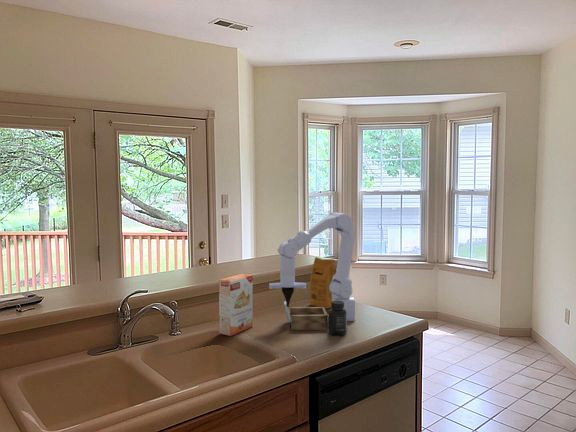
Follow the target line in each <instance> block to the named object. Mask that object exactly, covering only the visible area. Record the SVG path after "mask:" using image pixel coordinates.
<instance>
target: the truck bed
mask: <svg viewBox="0 0 576 432" xmlns="http://www.w3.org/2000/svg"><path fill="white" fill-rule="evenodd" d="M289 315H290V323H289V324H290V329H291V330H293V331H298V330H299V331H302V330H304V331H306V330H307V331H308V330H311V331H312V330H313V331H314V330H315V331H317V330H328V313H327V310H326V308H324V307H316V306H306V307H304V306H303V307H302V306H301V307H300V306H298V307H296V306H295V307H290V306H289Z"/></svg>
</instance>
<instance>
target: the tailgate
mask: <svg viewBox="0 0 576 432" xmlns="http://www.w3.org/2000/svg"><path fill="white" fill-rule="evenodd" d="M283 305H284V311H285V315H286V320H287V321H286V322H287V323H288V324H291V323H290V310H289V307H287V303H286V300H285V301H283Z"/></svg>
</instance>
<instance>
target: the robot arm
mask: <svg viewBox="0 0 576 432" xmlns="http://www.w3.org/2000/svg"><path fill="white" fill-rule="evenodd" d="M328 229H334V230H336V231H337V232H338V233H339V235H340V236H341V237H340V243H339V245H340V246H339V250H338V251H339V252H338V257H337V264H336V274H335V275H334V276H333V278H332V281H331V283H330V285H329V290H330V292H331V293H332V301H343V302H344V309H345V310H346V311H347V322H353V321H354V322H355V321H356V301H355V297H353V296H352V294H353V287H352V283H353V282H352V279H351V277H350V273H351V272H350V271H351V265H352V260H353V259H352V258H353V251H354V244H355V237H356V230H355V227H354V219H353V218H352V217H351V216H350V215H349V214H348V213H342V212H338V211H337V212H336V211H332V212H330V213H329V214H328V215H325V217H323V218H322V219H321V220H320V221H319V222H317V223H316V224H314V225H313V226H311V228H309V229H308V230H307V231H306V230H298V231H297V232H296V234H295V235H294V236H293V237H290V238H289V237H288V238H287V241H283V242H281V243H280V244H279V246H278V248H277V252H278V254H279V256H280V258H279V259H280V263H279V266H280V267H279V269H280V271H279V273H280V275H279V277H280V278H279V280H280V282H270V283H268V284H269V285H268V286H269V287H268V289H269V290H274V289H276V290H278V289H281V292H282V294H283V296H284V298H285V299H284V300H285V301H286V303H287V307H288V308H290V301H291V298H292V296H293V293H294V291H295V289H304V290H305V289H307V283H306V282H296V269H295V268H296V260H295V259H296V256H297V254H298V252H299V251H300V250H302V249H304V248H305V247H307V246H308V245H310V243H311V242H312V238H314V237H316V236H317V235H320V233H323V232H325V231H326V230H328Z"/></svg>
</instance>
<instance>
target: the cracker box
mask: <svg viewBox="0 0 576 432" xmlns="http://www.w3.org/2000/svg"><path fill="white" fill-rule="evenodd" d="M253 277H254V275H253V274H249V273H248V274H247V273H239V274H236V275H232V276H229V277H224V278H221V279H219V281H218V282H219V283H218V285H219V286H218V291H219V292H218V293H219V294H218V299H219V300H218V305H219V309H218V314H219V315H218V317H219V318H218V321H219V322H218V323H219V326H218V327H219V328H218V329H219V331H218V332H219V334H220V335H222V336H227V337H232V336H234V335H236V334H238V333H241V332H244V331H245V330H249V329H250V328H253V294H254V293H253V289H254V288H253V287H254V286H253V284H254V281H253V280H254V278H253Z"/></svg>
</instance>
